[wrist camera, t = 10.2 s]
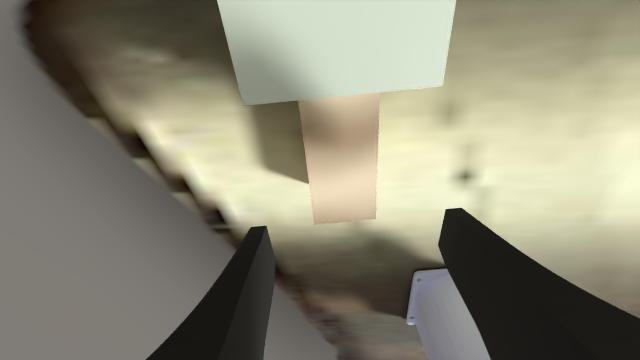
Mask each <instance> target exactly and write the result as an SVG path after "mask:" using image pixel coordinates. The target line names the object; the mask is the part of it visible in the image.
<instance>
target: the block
mask: <svg viewBox="0 0 640 360" xmlns="http://www.w3.org/2000/svg"><path fill="white" fill-rule="evenodd" d="M217 2H218V6H219V10H220V14H221V18H222V22H223V26H224V30H225V34H226V38H227V42H228V46H229V50H230V54H231V58H232V62H233V66H234V70H235V74H236V79H237V83H238V87H239V91H240V95H241V99H242V103H243V106H247V105H257V104H267V103H277V102H287V101H297V100H307V99H317V98H327V97H337V96H347V95H357V94H368V93H378V92H388V91H398V90H408V89H418V88H428V87H438V86H443V79H444V73H445V67H446V60H447V54H448V48H449V41H450V35H451V29H452V22H453V16H454V10H455V3H456V0H217Z"/></svg>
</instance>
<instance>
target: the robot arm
mask: <svg viewBox="0 0 640 360" xmlns="http://www.w3.org/2000/svg"><path fill="white" fill-rule="evenodd" d="M438 246H439V249H440V252H441V255H442V257H443V260H444V263H445V265H446V268H447V269H436V270H424V271H417V272H415V273H414V275H413V281H412V287H411V293H410V299H409V305H408V312H407V318H406V321H407V324H410V325H411V324H416V326H417V329H418V332H419V335H420V338H421V342H422V345H423V348H424V351H425V354H426V357H427V360H640V318H638V317H636V316H633V315H631V314H629V313H627V312H625V311H623V310H621V309H619V308H617V307H615V306H613V305H611V304H609V303H607V302H605V301H603V300H601V299H600V298H598V297H596V296H594V295H592V294H590V293H588V292H586V291H584V290H583V289H581V288H579V287H577V286H575V285H574V284H572V283H570V282H569V281H567V280H565V279H563V278H562V277H560V276H558V275H556V274H555V273H553V272H552V271H550V270H548V269H547V268H545V267H543V266H542V265H540V264H539V263H537V262H536V261H534V260H533V259H531V258H530V257H528V256H527V255H525V254H524V253H522V252H521V251H519V250H518V249H516V248H515V247H514V246H512V245H511V244H509V243H508V242H507V241H505V240H504V239H502V238H501V237H500V236H498V235H497V234H496V233H494V232H493V231H492V230H490V229H489V228H488V227H486V226H485V225H484V224H482V223H481V222H480V221H478V220H477V219H476V218H474V217H473V216H472V215H470V214H469V213H468V212H466V211H465V210H464V209H462V208H454V209H446V211H445V216H444V220H443V225H442V229H441V234H440V239H439V243H438ZM274 279H275V256H274V253H273V249H272V245H271V241H270V238H269V234H268V230H267V226H258V227H251V228H250V229H249V231H248V232H247V234H246V236H245V238H244V239H243V241H242V243H241V244H240V246H239V247H238V249H237V251H236V252H235V254H234V255H233V257H232V259H231V260H230V261H229V263H228V265H227V266H226V267H225V269H224V270H223V272H222V273H221V275H220V276H219V277H218V279H217V280H216V282H215V283H214V284H213V286H212V287H211V288H210V290H209V291H208V292H207V294H206V295H205V296H204V297H203V299H202V300H201V301H200V302H199V304H198V305H197V306H196V307H195V308H194V310H193V311H192V312H191V313H190V314H189V315H188V317H187V318H186V319H185V320H184V321H183V322H182V323H181V324H180V326H179V327H178V328H177V329H176V330H175V331H174V332H173V333H172V334H171V335H170V336H169V337H168V338H167V339H166V340H165V342H163V344H161V345H160V346H159V347H158V349H156V350H155V351H154V352H153V353H152V354H151V355H150V356H149V357H148V358H147V359H146V360H263V356H264V346H265V338H266V332H267V326H268V320H269V313H270V307H271V301H272V295H273V289H274Z"/></svg>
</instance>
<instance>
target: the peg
mask: <svg viewBox="0 0 640 360" xmlns="http://www.w3.org/2000/svg"><path fill="white" fill-rule="evenodd" d="M379 98H380V92H378V93H368V94H357V95H347V96H337V97H327V98H317V99H307V100H298V104H299V111H300V119H301V126H302V134H303V141H304V149H305V156H306V163H307V171H308V178H309V186H310V193H311V201H312V208H313V215H314V223H315V224H325V223H336V222H346V221H357V220H368V219H376V190H377V159H378V129H379Z"/></svg>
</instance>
